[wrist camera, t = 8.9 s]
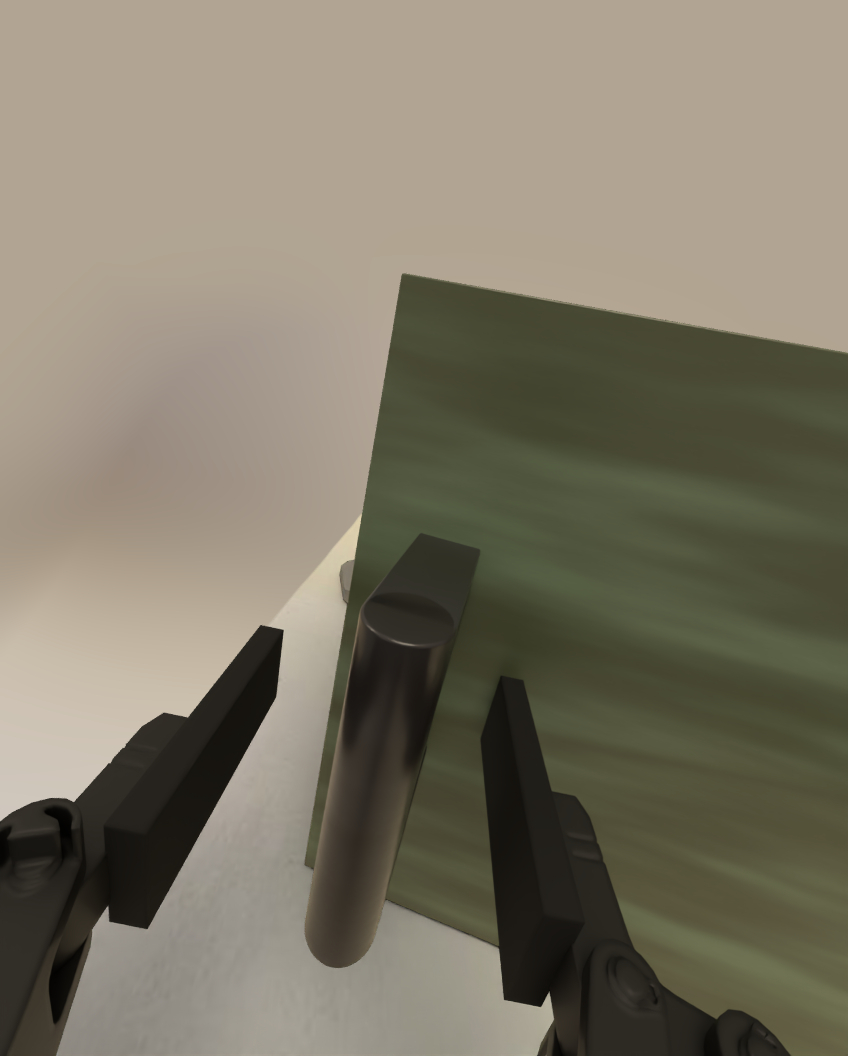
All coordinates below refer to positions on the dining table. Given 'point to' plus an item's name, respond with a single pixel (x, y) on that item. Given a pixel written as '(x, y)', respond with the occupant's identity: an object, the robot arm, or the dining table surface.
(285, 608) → the dining table surface
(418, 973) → the dining table surface
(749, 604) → the cupboard door
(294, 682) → the dining table surface
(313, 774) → the dining table surface
